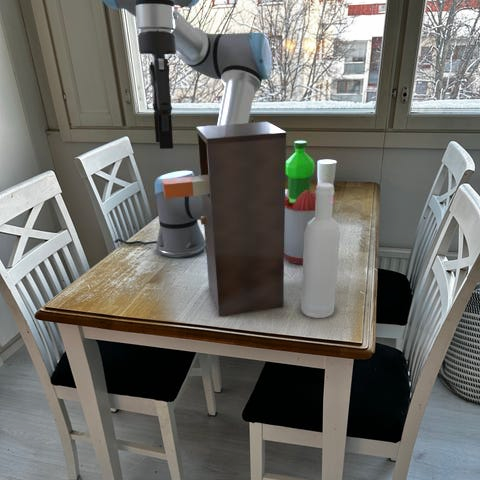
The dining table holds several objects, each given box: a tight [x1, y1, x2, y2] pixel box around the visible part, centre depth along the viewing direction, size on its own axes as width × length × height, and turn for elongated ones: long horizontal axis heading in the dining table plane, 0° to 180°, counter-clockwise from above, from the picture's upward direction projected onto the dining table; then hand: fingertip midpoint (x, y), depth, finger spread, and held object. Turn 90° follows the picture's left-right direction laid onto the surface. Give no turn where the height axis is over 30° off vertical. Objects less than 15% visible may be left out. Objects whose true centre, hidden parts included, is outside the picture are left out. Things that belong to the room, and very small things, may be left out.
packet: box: [162, 174, 210, 199], centre depth 101 cm, size 22×5×3 cm, turn 103°
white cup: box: [316, 158, 338, 186], centre depth 197 cm, size 8×8×10 cm
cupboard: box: [196, 121, 287, 317], centre depth 107 cm, size 17×14×40 cm
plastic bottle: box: [286, 140, 316, 203], centre depth 164 cm, size 10×10×25 cm
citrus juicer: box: [284, 190, 336, 265], centre depth 133 cm, size 16×17×20 cm
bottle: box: [300, 183, 341, 319], centre depth 104 cm, size 8×8×30 cm
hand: (164, 145), depth 103 cm, fingers open, 12 cm apart
